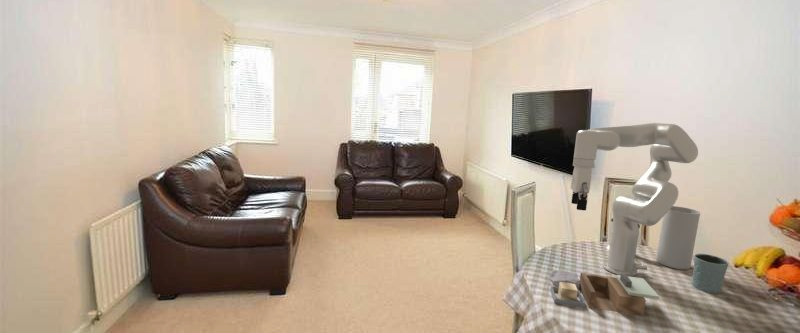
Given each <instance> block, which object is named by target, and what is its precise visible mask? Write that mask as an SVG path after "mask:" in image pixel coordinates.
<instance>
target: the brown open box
mask: <svg viewBox="0 0 800 333" xmlns="http://www.w3.org/2000/svg"><path fill="white" fill-rule="evenodd" d="M579 281H580V289H579V291H580V293H581V295H582V297H583V299H584V301H585V304H586V305H587V307H588V308H590V309H595V310H596V309H597V310H603V311H610V312H616V313H621V314H627V315H634V316H639V317H643V316H644V315H645V314H644V313H645V307H646V301H647V300H646V298H645V297H639V296H632V295H629V294H628V293H627V291H626V290H625V289H624V287H623V286H622V285H621V283H620V282H619V280H618V279H617V278H616V276H607V275H599V274H592V273H585V272H580V274H579Z"/></svg>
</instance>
